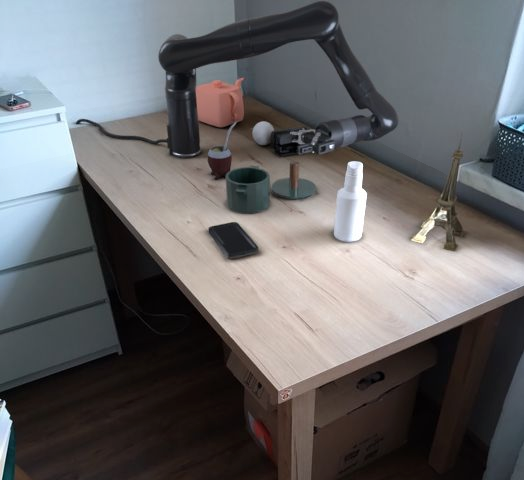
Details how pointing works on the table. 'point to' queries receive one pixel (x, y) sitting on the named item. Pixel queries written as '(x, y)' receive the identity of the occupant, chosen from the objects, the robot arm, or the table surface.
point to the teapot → (220, 103)
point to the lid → (293, 185)
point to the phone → (233, 240)
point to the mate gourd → (220, 159)
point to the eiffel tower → (447, 201)
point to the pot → (248, 189)
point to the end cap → (284, 148)
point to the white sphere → (262, 133)
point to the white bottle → (350, 205)
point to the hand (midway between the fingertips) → (288, 145)
